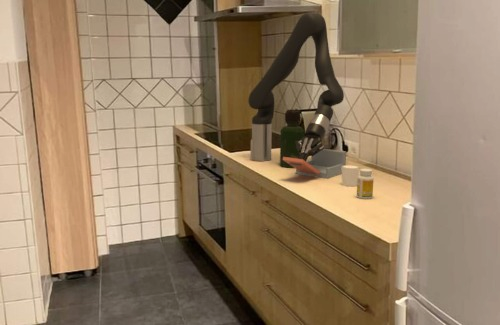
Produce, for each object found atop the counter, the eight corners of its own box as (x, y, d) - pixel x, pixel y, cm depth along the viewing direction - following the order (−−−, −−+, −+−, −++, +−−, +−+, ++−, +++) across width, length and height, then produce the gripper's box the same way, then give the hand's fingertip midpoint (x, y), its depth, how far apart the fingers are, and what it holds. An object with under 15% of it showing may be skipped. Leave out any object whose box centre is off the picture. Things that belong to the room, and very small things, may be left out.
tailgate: (301, 168, 209) (283, 156, 198) (320, 171, 204) (303, 159, 192) (299, 173, 209) (282, 161, 197) (319, 176, 204) (301, 163, 192)
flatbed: (314, 167, 224) (315, 147, 222) (345, 172, 215) (346, 151, 213) (296, 173, 212) (296, 152, 211) (327, 178, 203) (328, 156, 202)
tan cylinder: (337, 183, 195) (337, 165, 194) (352, 182, 198) (353, 164, 196) (346, 187, 189) (347, 169, 188) (362, 186, 191) (363, 167, 190)
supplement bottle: (353, 197, 175) (354, 169, 173) (361, 194, 179) (363, 167, 177) (367, 200, 172) (368, 172, 170) (375, 197, 176) (376, 169, 174)
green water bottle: (307, 167, 225) (308, 110, 220) (285, 168, 222) (286, 111, 217) (297, 163, 235) (299, 108, 230) (276, 164, 231) (277, 109, 227)
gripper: (299, 121, 208) (283, 155, 201) (328, 123, 200) (312, 158, 193) (306, 132, 213) (290, 166, 206) (334, 135, 205) (319, 170, 198)
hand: (301, 162), depth 199 cm, fingers closed
